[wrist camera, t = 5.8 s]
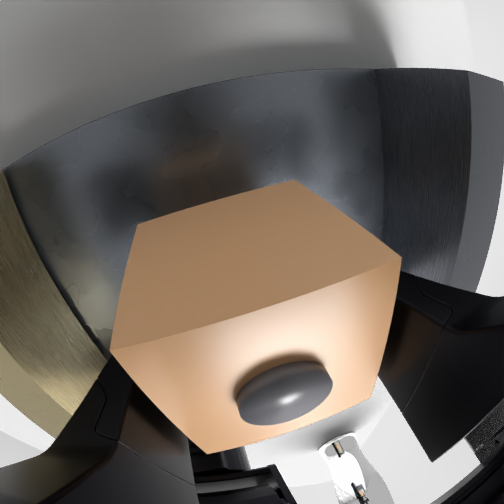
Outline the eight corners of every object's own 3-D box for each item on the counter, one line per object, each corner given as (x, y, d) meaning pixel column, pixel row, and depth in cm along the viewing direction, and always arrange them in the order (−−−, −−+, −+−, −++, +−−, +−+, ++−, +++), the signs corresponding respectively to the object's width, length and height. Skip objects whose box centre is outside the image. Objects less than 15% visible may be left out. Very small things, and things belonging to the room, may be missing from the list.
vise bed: (400, 259, 17) (465, 318, 12) (82, 357, 15) (68, 447, 9) (399, 72, 11) (503, 81, 5) (-16, 185, 8) (-99, 248, 3)
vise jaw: (117, 372, 14) (114, 446, 9) (77, 378, 13) (68, 447, 9) (3, 169, 7) (-72, 215, 3) (-36, 197, 7) (-99, 248, 3)
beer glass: (316, 444, 32) (355, 527, 19) (360, 425, 33) (403, 502, 20) (314, 456, 35) (347, 528, 23) (353, 440, 36) (389, 507, 24)
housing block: (307, 299, 11) (375, 404, 7) (188, 337, 11) (208, 462, 6) (294, 179, 9) (412, 266, 4) (137, 224, 8) (107, 365, 3)
